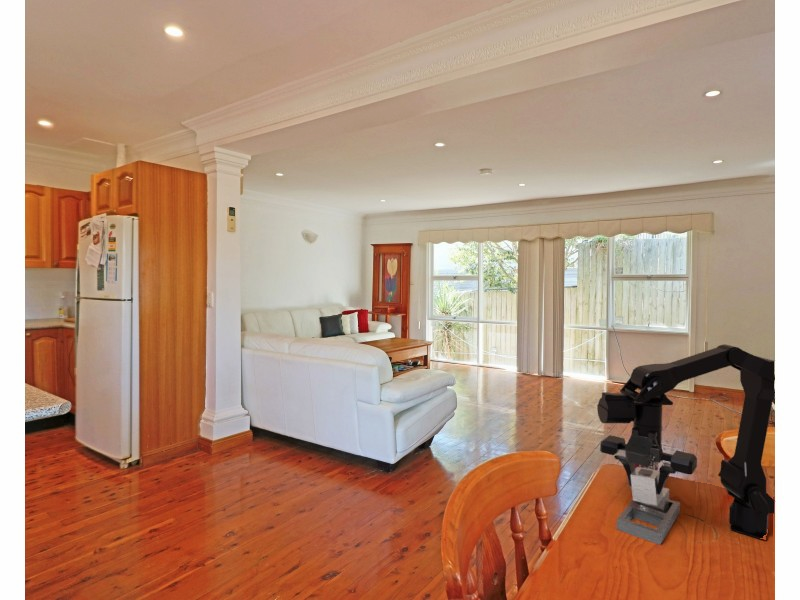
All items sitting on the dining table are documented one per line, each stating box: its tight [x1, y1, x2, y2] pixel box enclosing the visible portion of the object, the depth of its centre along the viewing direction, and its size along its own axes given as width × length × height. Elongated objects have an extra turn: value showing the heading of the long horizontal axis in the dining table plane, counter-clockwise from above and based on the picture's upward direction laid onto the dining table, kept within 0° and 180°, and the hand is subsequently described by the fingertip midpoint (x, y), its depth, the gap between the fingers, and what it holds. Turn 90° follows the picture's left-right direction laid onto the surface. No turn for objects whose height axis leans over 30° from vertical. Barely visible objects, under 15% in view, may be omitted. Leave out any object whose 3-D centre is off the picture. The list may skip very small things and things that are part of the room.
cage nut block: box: [631, 467, 663, 505], centre depth 106 cm, size 5×5×6 cm
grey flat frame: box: [616, 499, 681, 546], centre depth 109 cm, size 9×18×2 cm, turn 138°
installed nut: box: [640, 487, 670, 513], centre depth 112 cm, size 5×5×6 cm
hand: (645, 489), depth 105 cm, fingers closed on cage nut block, 5 cm apart
